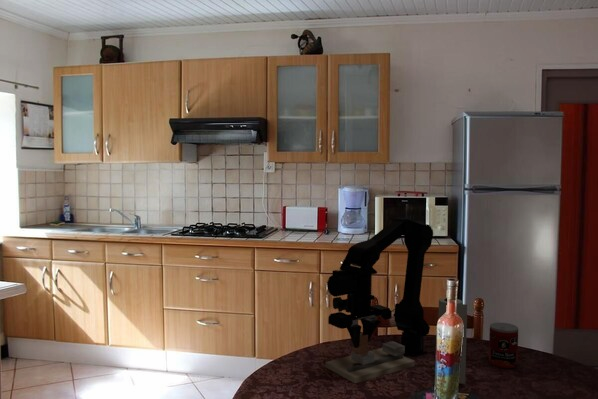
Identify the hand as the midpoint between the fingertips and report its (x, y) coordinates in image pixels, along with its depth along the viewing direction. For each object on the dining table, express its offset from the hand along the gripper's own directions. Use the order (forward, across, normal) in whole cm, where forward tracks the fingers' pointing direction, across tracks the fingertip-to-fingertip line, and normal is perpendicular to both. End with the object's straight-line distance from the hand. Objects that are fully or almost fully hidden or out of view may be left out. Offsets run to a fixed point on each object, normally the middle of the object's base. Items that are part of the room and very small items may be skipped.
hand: (360, 346), depth 141 cm
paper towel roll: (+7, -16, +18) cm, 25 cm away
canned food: (+7, -38, +19) cm, 43 cm away
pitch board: (+6, -4, 0) cm, 8 cm away
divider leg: (+5, 0, +1) cm, 5 cm away
